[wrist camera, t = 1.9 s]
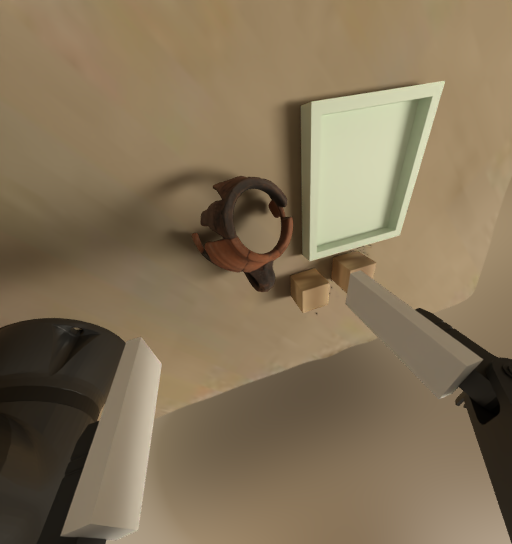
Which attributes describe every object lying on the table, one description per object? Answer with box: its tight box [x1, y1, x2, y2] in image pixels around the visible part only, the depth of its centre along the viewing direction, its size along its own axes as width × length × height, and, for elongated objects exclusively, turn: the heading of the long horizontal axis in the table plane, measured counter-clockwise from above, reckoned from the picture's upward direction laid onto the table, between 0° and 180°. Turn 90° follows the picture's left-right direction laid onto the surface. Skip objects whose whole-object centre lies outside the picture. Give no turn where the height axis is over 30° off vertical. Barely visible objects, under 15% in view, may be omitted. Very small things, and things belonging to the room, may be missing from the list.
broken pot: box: [192, 176, 293, 292], centre depth 21 cm, size 12×9×8 cm
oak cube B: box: [331, 251, 376, 293], centre depth 29 cm, size 4×4×4 cm
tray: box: [301, 81, 445, 261], centre depth 23 cm, size 14×16×2 cm
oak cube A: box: [290, 268, 330, 313], centre depth 28 cm, size 4×4×4 cm
